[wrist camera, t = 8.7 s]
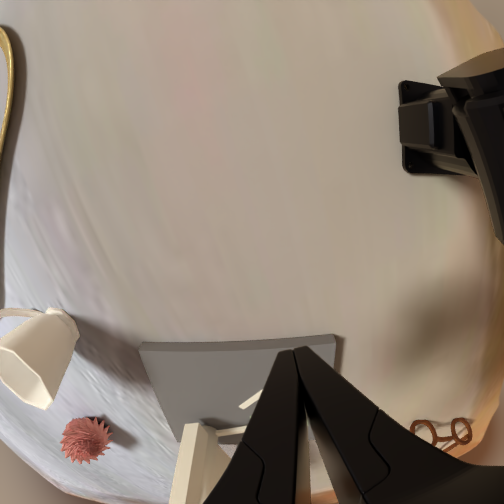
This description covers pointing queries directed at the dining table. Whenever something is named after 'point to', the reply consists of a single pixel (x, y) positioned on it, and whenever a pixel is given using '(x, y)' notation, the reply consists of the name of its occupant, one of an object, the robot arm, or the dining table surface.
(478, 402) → the dining table surface
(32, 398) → the cup
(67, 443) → the flower
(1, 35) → the yellow oval loop
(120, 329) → the dining table surface
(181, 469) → the tuning peg
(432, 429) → the glasses
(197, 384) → the grey board
